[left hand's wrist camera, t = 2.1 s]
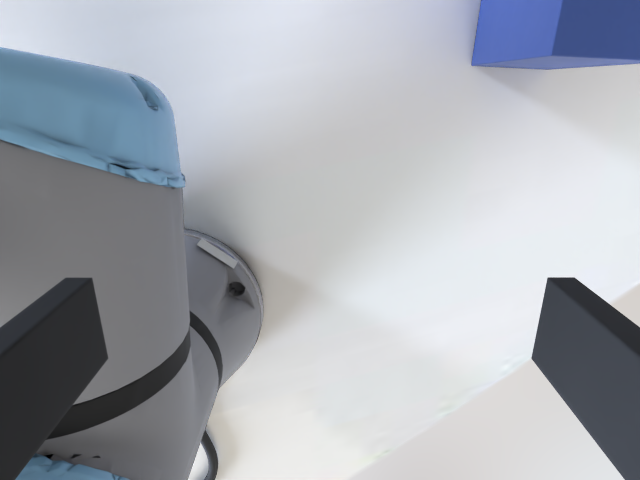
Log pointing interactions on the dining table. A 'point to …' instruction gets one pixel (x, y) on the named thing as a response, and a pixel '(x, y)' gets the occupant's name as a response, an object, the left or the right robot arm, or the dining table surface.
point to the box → (557, 33)
